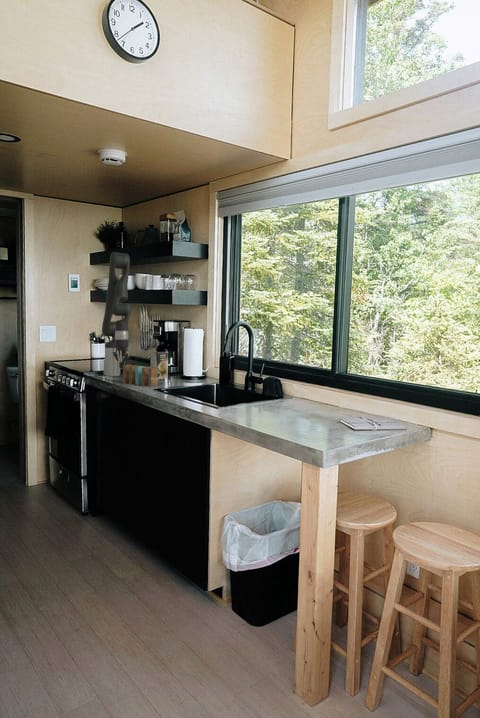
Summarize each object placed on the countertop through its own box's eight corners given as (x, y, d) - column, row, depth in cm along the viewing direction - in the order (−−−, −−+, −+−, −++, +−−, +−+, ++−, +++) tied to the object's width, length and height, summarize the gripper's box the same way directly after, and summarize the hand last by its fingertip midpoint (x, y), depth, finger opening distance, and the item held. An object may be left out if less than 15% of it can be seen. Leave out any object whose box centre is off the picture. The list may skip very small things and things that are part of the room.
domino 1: (123, 382, 298) (123, 365, 298) (129, 382, 303) (129, 364, 302) (125, 383, 297) (125, 365, 296) (131, 382, 301) (132, 365, 301)
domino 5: (148, 386, 287) (148, 368, 286) (154, 385, 291) (155, 367, 290) (151, 386, 286) (151, 368, 285) (157, 385, 290) (157, 367, 289)
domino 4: (141, 385, 290) (142, 367, 289) (148, 384, 294) (148, 366, 293) (144, 385, 289) (144, 367, 288) (150, 384, 293) (151, 367, 292)
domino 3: (135, 384, 293) (135, 366, 292) (141, 383, 297) (142, 366, 296) (138, 384, 292) (138, 366, 291) (144, 383, 296) (144, 366, 295)
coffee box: (157, 379, 316) (157, 352, 314) (150, 378, 320) (150, 352, 318) (168, 378, 323) (168, 352, 322) (160, 377, 327) (161, 351, 325)
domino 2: (129, 383, 296) (129, 366, 295) (135, 382, 300) (135, 365, 299) (131, 384, 294) (131, 366, 294) (138, 383, 299) (138, 365, 298)
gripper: (134, 338, 300) (134, 369, 301) (118, 337, 307) (118, 367, 309) (124, 339, 294) (124, 370, 295) (108, 338, 301) (108, 368, 303)
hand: (121, 368), depth 302 cm, fingers closed
